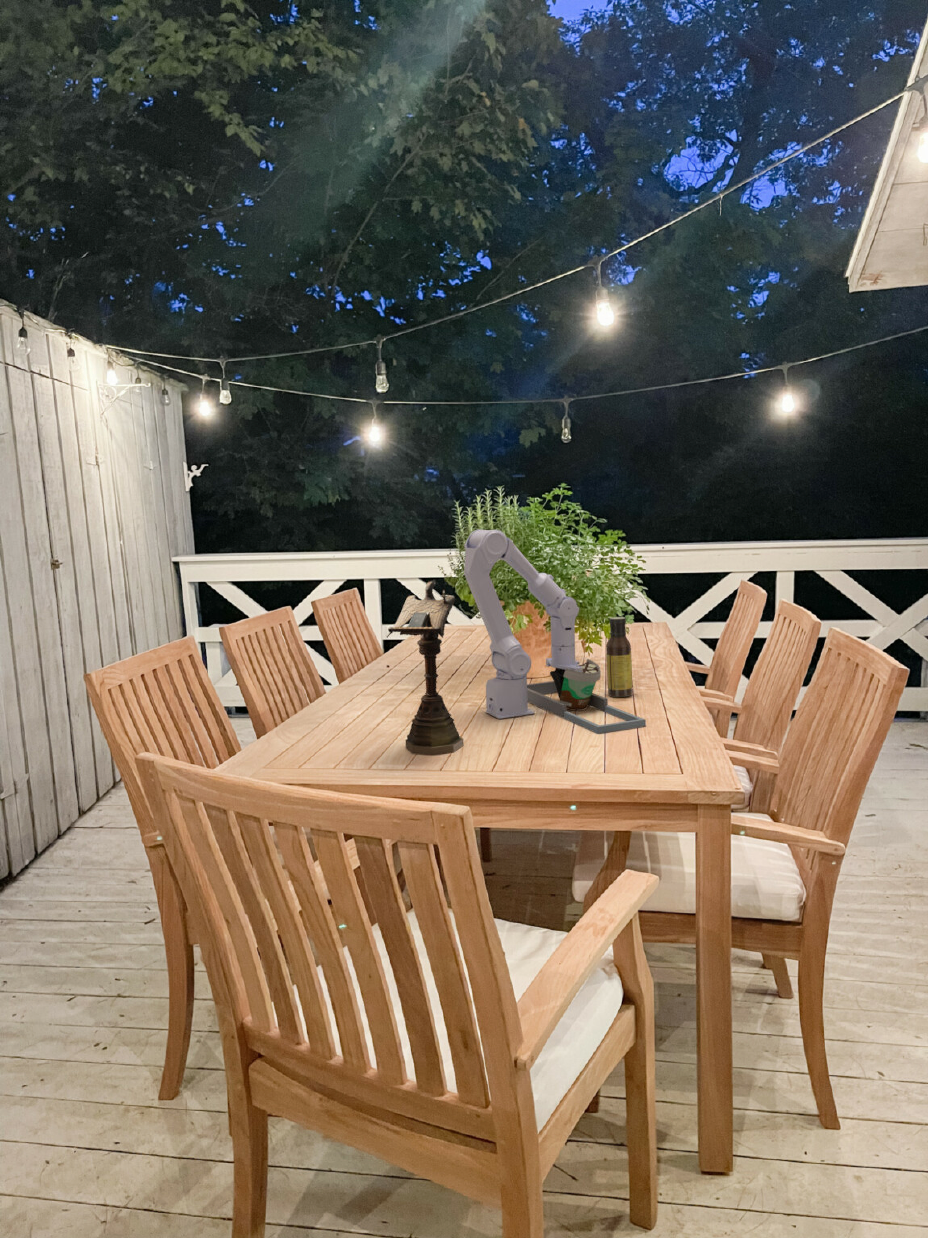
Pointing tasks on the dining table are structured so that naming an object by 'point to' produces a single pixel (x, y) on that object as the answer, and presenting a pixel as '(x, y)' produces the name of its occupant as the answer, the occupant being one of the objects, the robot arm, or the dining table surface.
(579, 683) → the food container
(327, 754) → the dining table surface
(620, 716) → the frame
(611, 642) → the sauce bottle
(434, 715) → the book lectern
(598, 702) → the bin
